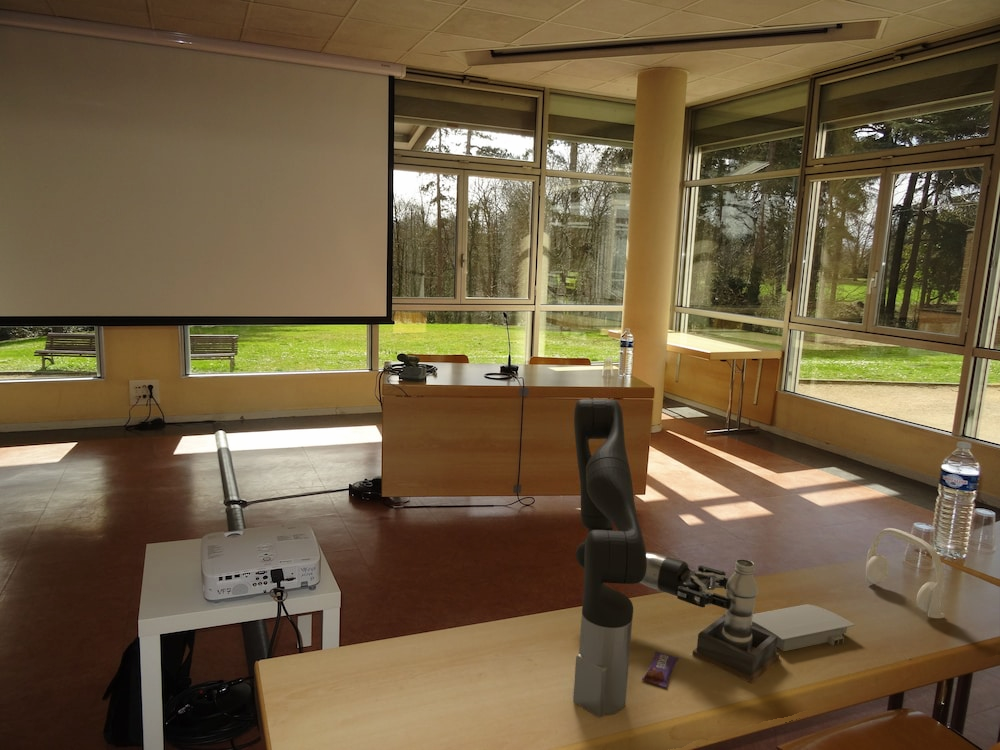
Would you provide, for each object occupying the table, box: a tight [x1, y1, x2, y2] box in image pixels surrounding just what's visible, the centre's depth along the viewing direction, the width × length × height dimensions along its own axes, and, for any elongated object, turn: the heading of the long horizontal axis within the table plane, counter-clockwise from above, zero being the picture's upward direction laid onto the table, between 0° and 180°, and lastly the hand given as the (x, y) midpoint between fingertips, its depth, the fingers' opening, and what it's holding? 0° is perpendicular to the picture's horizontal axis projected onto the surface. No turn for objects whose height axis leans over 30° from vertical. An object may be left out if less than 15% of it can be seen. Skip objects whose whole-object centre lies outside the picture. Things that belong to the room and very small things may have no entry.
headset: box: [865, 527, 946, 619], centre depth 174 cm, size 20×7×18 cm, turn 20°
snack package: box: [641, 650, 680, 688], centre depth 142 cm, size 12×2×5 cm
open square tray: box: [692, 613, 780, 684], centre depth 147 cm, size 13×13×5 cm
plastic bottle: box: [720, 558, 759, 653], centre depth 146 cm, size 6×7×20 cm
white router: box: [752, 603, 855, 652], centre depth 158 cm, size 15×23×4 cm, turn 111°
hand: (736, 596), depth 146 cm, fingers open, 8 cm apart
